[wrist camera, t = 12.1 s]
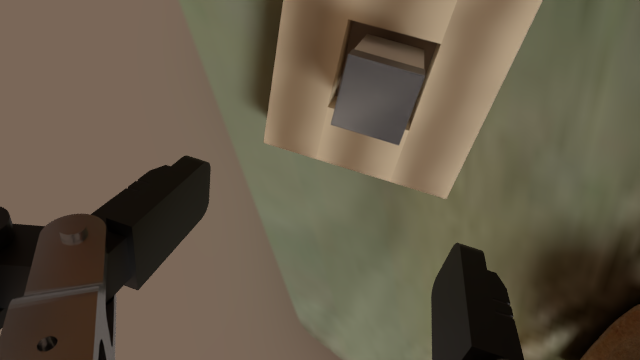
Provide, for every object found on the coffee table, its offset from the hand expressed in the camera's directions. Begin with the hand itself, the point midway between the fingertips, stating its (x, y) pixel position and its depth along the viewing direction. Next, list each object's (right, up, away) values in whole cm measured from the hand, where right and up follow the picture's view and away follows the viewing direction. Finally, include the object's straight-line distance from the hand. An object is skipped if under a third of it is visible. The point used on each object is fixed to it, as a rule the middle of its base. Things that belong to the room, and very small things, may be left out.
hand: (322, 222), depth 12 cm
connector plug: (+5, +10, +18) cm, 21 cm away
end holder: (+5, +11, +18) cm, 22 cm away
